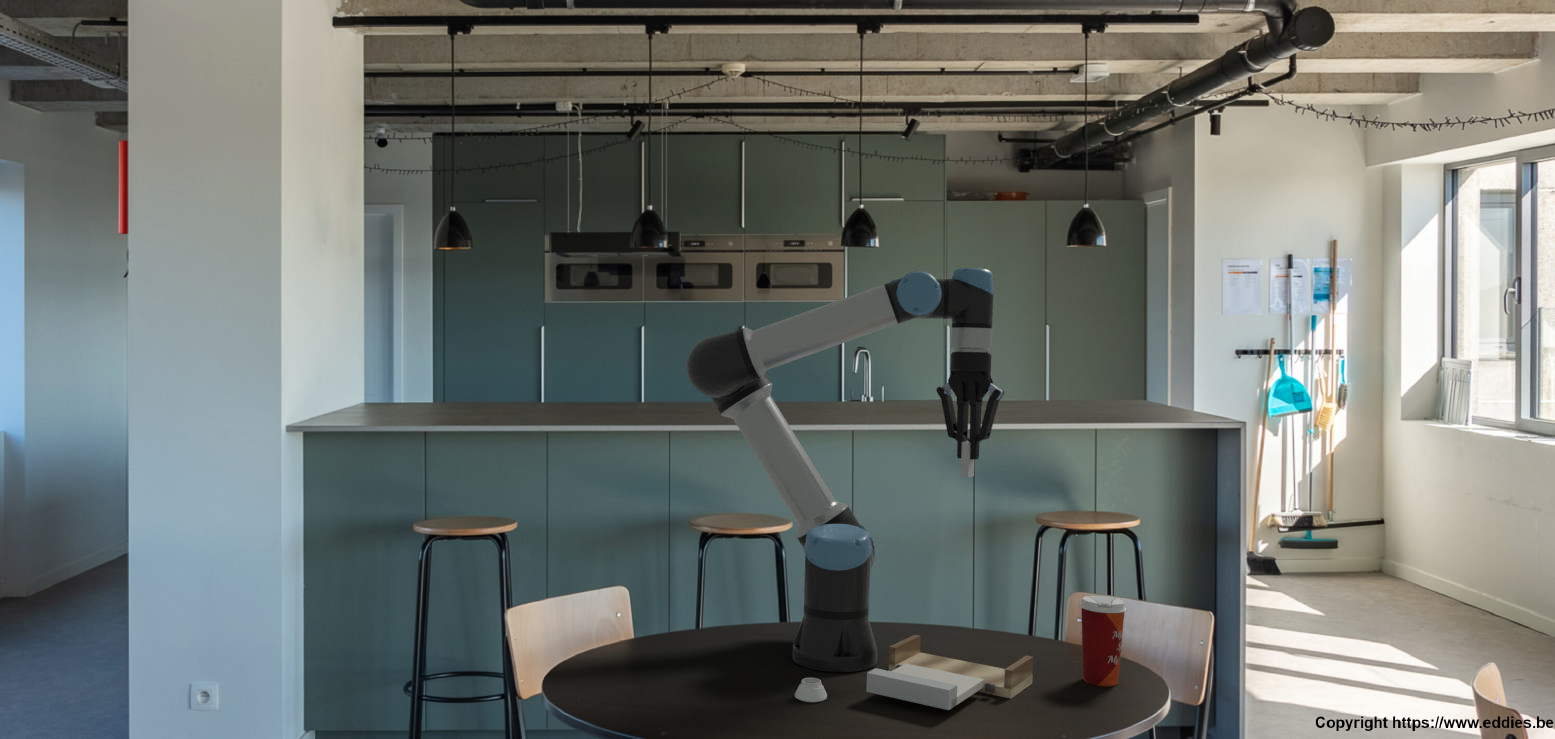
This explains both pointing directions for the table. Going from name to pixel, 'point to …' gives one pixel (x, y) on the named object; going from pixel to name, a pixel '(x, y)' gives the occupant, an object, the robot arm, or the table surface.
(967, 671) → the cart bed
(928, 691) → the tailgate
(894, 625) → the table surface
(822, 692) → the white jar
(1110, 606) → the paper cup
